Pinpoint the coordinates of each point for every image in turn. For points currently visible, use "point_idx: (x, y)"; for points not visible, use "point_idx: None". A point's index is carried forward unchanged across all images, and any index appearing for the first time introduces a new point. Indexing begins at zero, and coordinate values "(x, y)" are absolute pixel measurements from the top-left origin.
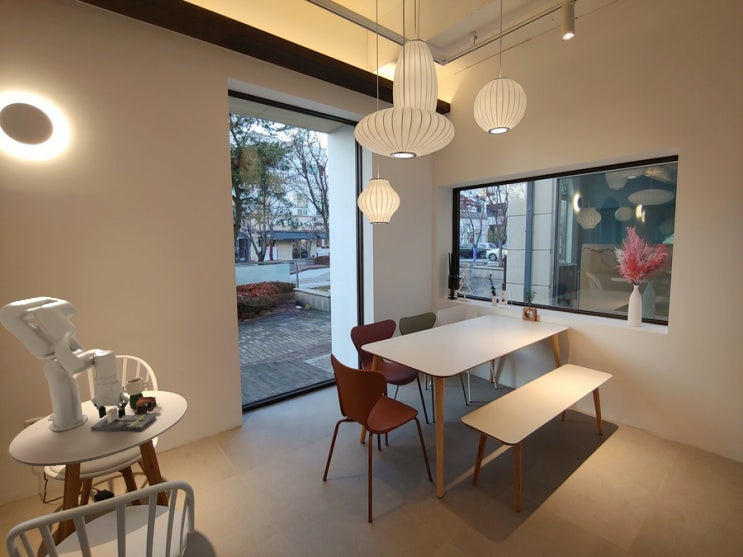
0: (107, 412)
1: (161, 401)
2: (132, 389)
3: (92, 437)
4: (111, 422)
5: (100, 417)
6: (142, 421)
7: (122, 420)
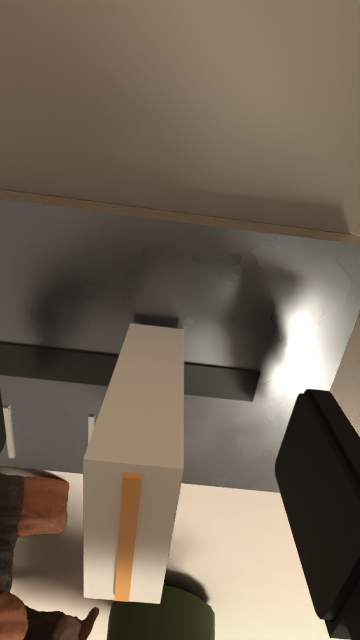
0: (157, 448)
1: None
2: None
3: (257, 52)
4: None
5: (316, 396)
6: None
7: (24, 364)
